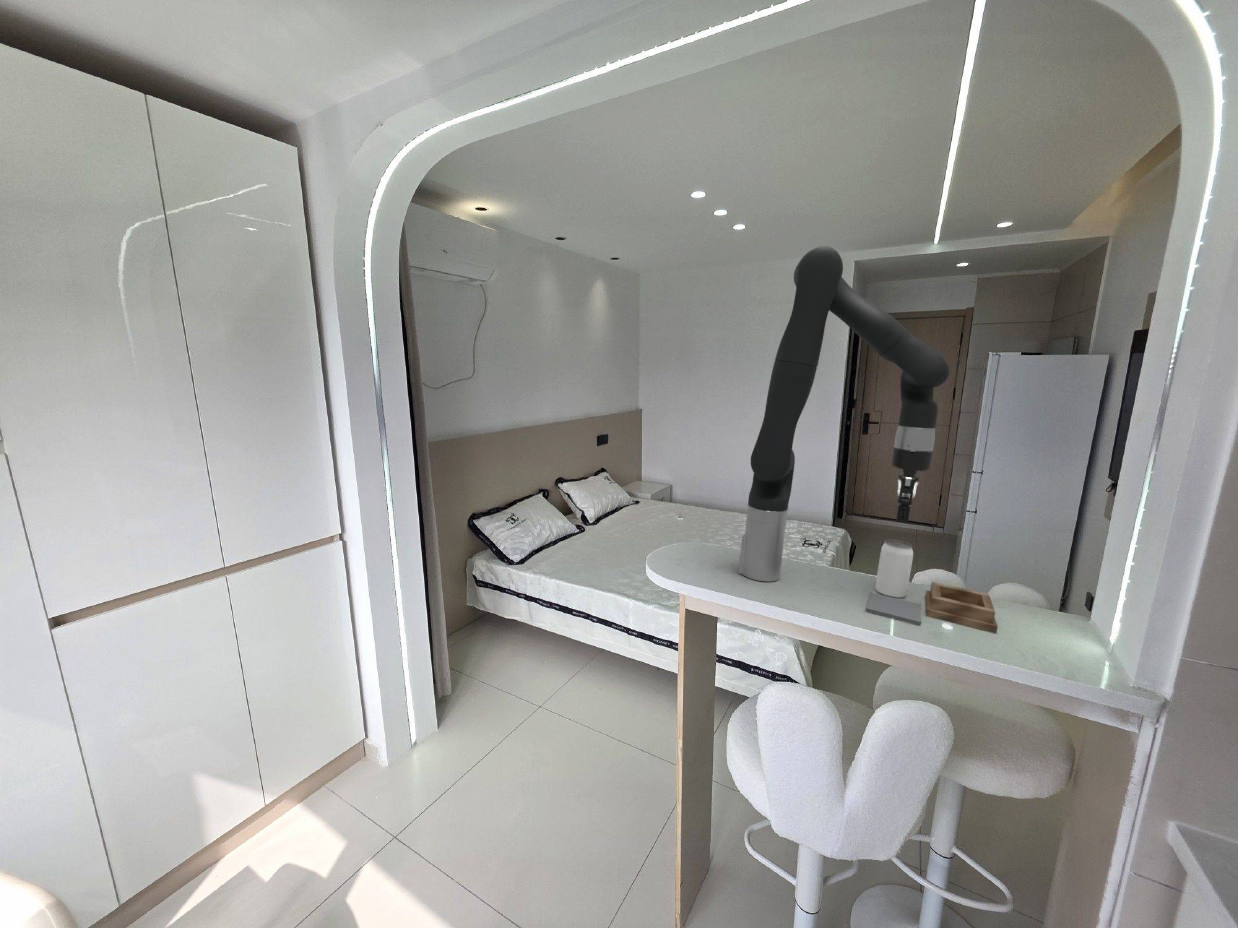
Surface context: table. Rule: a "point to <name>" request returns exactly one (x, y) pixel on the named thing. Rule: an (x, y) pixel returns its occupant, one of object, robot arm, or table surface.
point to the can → (894, 568)
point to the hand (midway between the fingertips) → (902, 518)
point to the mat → (894, 608)
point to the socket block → (961, 607)
